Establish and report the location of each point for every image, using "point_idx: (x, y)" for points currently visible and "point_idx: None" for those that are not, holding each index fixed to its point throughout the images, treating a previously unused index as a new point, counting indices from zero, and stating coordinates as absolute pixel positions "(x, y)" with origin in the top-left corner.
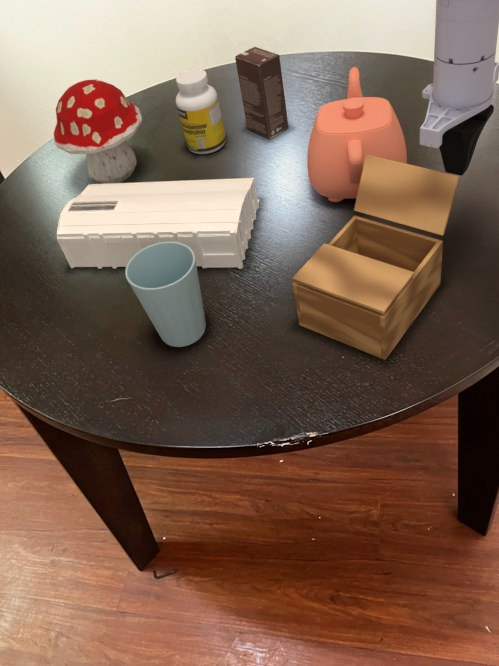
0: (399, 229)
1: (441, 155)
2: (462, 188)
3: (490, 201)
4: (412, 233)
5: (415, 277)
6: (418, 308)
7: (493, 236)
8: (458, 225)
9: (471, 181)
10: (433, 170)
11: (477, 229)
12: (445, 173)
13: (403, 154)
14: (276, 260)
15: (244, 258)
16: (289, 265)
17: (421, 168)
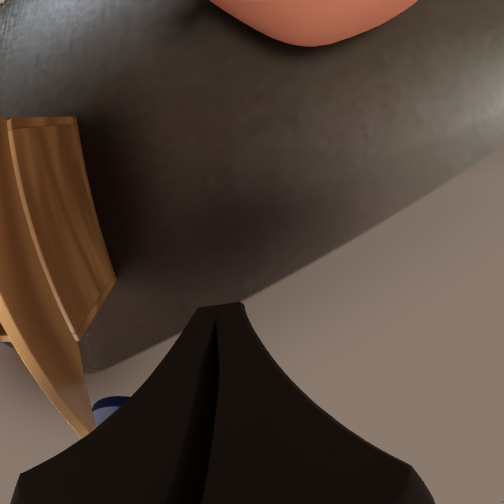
0: (36, 249)
1: (170, 349)
2: (382, 157)
3: (367, 225)
4: (48, 281)
5: (5, 341)
6: None
7: (276, 282)
8: (272, 214)
9: (406, 163)
10: (47, 395)
11: (280, 250)
12: (71, 425)
13: (349, 22)
14: (15, 29)
15: (1, 2)
16: (14, 52)
17: (22, 356)
